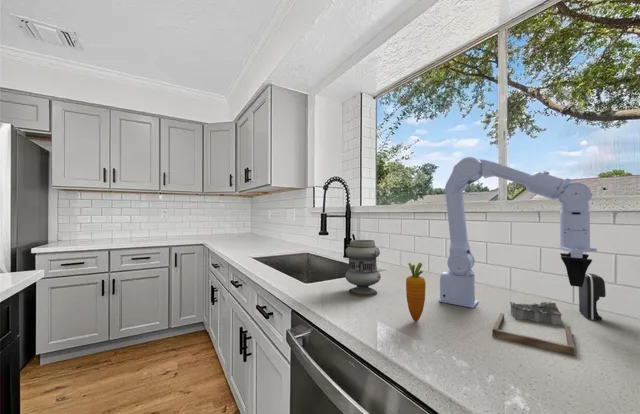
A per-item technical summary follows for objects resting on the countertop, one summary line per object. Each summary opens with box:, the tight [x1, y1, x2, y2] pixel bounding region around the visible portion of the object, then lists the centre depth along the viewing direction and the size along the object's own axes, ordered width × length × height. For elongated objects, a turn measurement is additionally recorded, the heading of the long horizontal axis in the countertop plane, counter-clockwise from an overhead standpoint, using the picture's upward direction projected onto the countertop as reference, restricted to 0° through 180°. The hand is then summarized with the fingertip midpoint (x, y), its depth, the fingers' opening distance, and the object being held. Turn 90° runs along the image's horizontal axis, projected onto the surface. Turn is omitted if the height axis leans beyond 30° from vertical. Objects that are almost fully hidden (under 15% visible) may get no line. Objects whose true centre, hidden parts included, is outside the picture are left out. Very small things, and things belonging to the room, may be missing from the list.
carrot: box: [405, 262, 426, 323], centre depth 71 cm, size 5×5×15 cm
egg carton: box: [509, 301, 563, 325], centre depth 75 cm, size 11×8×4 cm
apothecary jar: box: [344, 239, 381, 298], centre depth 98 cm, size 12×12×18 cm
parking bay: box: [491, 312, 576, 357], centre depth 64 cm, size 14×14×2 cm
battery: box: [578, 272, 607, 321], centre depth 76 cm, size 7×4×11 cm, turn 153°
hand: (575, 283), depth 72 cm, fingers open, 7 cm apart
